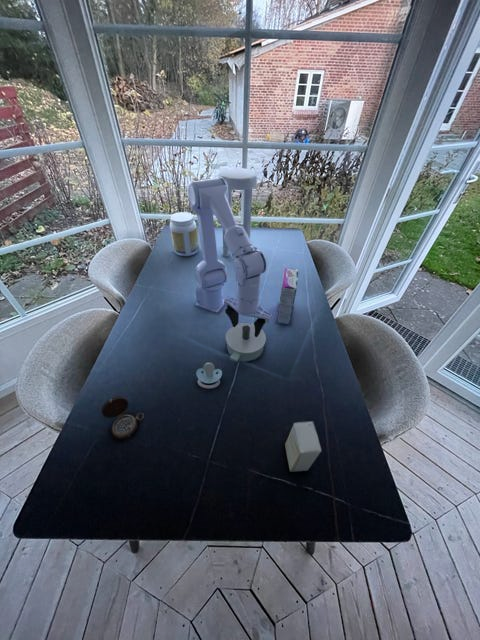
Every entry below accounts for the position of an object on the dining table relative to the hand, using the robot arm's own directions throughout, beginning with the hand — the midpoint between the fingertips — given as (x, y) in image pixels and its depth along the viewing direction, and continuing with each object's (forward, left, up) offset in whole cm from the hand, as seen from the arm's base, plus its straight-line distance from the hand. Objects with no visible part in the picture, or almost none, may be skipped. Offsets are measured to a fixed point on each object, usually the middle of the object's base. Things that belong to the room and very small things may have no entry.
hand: (246, 329), depth 80 cm
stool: (-30, +54, -8) cm, 62 cm away
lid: (0, 0, -4) cm, 4 cm away
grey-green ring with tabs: (0, 0, -8) cm, 8 cm away
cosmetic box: (+25, -25, -8) cm, 36 cm away
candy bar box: (+6, +21, -8) cm, 23 cm away
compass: (-16, -36, -8) cm, 40 cm away
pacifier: (-4, -16, -8) cm, 18 cm away
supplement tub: (-52, +43, -8) cm, 68 cm away
